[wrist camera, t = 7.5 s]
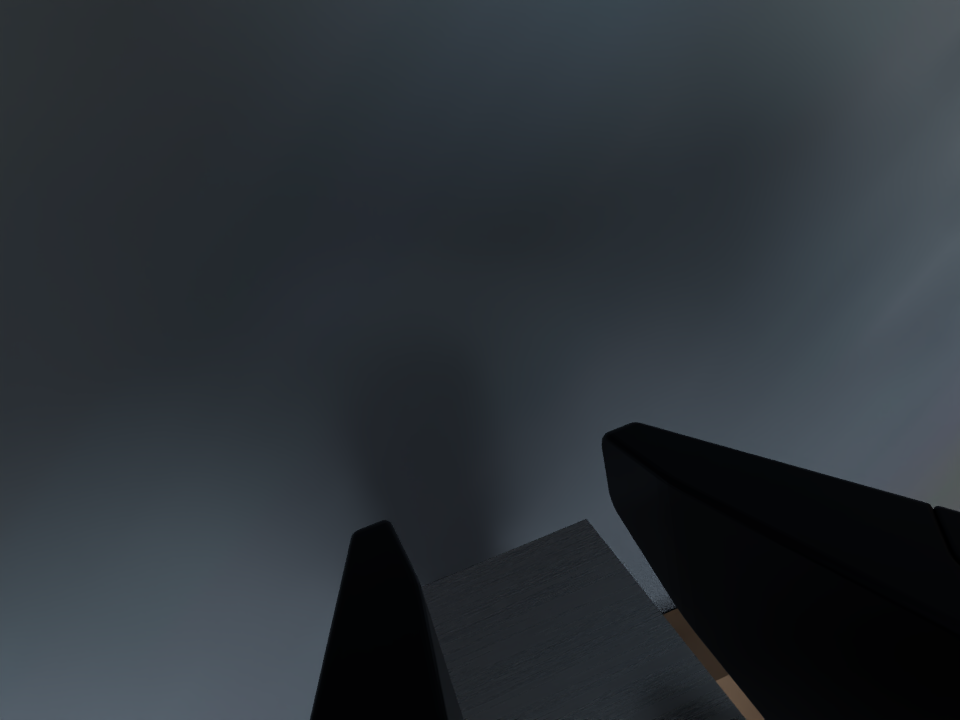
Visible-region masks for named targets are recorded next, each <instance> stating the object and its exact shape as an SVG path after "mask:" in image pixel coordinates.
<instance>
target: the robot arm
mask: <svg viewBox="0 0 960 720" xmlns="http://www.w3.org/2000/svg"><path fill="white" fill-rule="evenodd" d="M602 451H603V457H604V463H605V470H606V476H607V482H608V488H609V493H610V497H611V500H612V503H613V505H614V507H615V509H616V511H617V513H618V515H619V516H620V518H621V520H622V521H623V523H624V524H625V526H626V528H627V529H628V531H629V532H630V534H631V535H632V537H633V539H634V540H635V542H636V543H637V545H638V547H639V548H640V550H641V551H642V553H643V555H644V556H645V558H646V559H647V561H648V563H649V564H650V566H651V567H652V569H653V571H654V572H655V574H656V575H657V577H658V578H659V580H660V582H661V583H662V585H663V586H664V588H665V590H666V591H667V593H668V594H669V596H670V598H671V599H672V601H673V602H674V604H675V605H676V607H677V608H678V610H679V611H680V613H681V614H682V616H683V617H684V619H685V620H686V621H687V623H688V624H689V625H690V627H691V628H692V629H693V631H694V632H695V633H696V634H697V636H698V637H699V638H700V639H701V641H702V642H703V643H704V644H705V646H706V647H707V648H708V649H709V651H710V652H711V653H712V654H713V656H714V657H715V658H716V659H717V661H718V662H719V663H720V664H721V666H722V667H723V668H724V669H725V671H726V672H727V673H728V674H729V676H730V677H731V678H732V679H733V680H734V682H735V683H736V684H737V685H738V687H739V688H740V689H741V690H742V692H743V693H744V694H745V695H746V697H747V698H748V699H749V700H750V702H751V703H752V704H753V705H754V707H755V708H756V709H757V710H758V712H759V713H760V714H761V715H762V717H763V718H764V719H765V720H960V512H958V511H955V510H951V509H948V508H944V507H941V506H936V507H935V508H934V509H933V508H932V506H931V505H930V504H929V503H925V502H922V501H918V500H915V499H911V498H907V497H904V496H900V495H897V494H893V493H890V492H886V491H882V490H879V489H875V488H872V487H868V486H864V485H861V484H857V483H854V482H850V481H847V480H843V479H839V478H836V477H832V476H829V475H825V474H821V473H818V472H814V471H811V470H807V469H804V468H800V467H796V466H793V465H789V464H786V463H782V462H778V461H775V460H771V459H768V458H764V457H761V456H757V455H753V454H750V453H746V452H743V451H739V450H735V449H732V448H728V447H725V446H721V445H717V444H714V443H710V442H707V441H703V440H700V439H696V438H692V437H689V436H685V435H682V434H678V433H674V432H671V431H667V430H664V429H660V428H657V427H653V426H649V425H646V424H642V423H637V422H633V423H629V424H627V425H624V426H622V427H619V428H617V429H614V430H612V431H609V432H607V433H605V435H604V436H603V438H602ZM310 720H464V719H463V716H462V713H461V710H460V706H459V703H458V700H457V697H456V694H455V691H454V688H453V684H452V681H451V678H450V675H449V672H448V669H447V666H446V663H445V659H444V656H443V653H442V650H441V647H440V644H439V641H438V637H437V634H436V631H435V628H434V625H433V622H432V619H431V615H430V612H429V609H428V606H427V603H426V600H425V597H424V593H423V590H422V587H421V585H420V582H419V580H418V577H417V575H416V573H415V571H414V569H413V567H412V565H411V563H410V560H409V558H408V556H407V554H406V552H405V550H404V548H403V546H402V544H401V542H400V540H399V538H398V536H397V534H396V531H395V529H394V527H393V525H392V524H391V522H389V521H387V520H383V521H380V522H377V523H375V524H372V525H370V526H367V527H365V528H362V529H360V530H357V531H356V532H354V533H353V535H352V537H351V541H350V545H349V549H348V554H347V558H346V563H345V567H344V571H343V576H342V580H341V585H340V589H339V594H338V598H337V602H336V607H335V611H334V616H333V620H332V624H331V629H330V633H329V638H328V642H327V646H326V651H325V655H324V660H323V664H322V669H321V673H320V677H319V682H318V686H317V691H316V695H315V699H314V704H313V708H312V713H311V717H310Z"/></svg>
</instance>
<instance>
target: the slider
mask: <svg viewBox="0 0 960 720" xmlns="http://www.w3.org/2000/svg"><path fill="white" fill-rule="evenodd" d="M422 590H423V593H424V597H425V600H426V603H427V606H428V609H429V612H430V615H431V619H432V622H433V625H434V628H435V631H436V634H437V637H438V641H439V644H440V647H441V650H442V653H443V656H444V659H445V663H446V666H447V669H448V672H449V675H450V678H451V681H452V684H453V688H454V691H455V694H456V697H457V700H458V703H459V706H460V710H461V713H462V716H463V719H464V720H746V719H745V717H744V716H743V715H742V714H741V712H740V711H739V710H738V709H737V707H736V706H735V705H734V704H733V702H732V701H731V700H730V699H729V697H728V696H727V695H726V693H725V692H724V691H723V690H722V688H721V687H720V686H719V685H718V683H717V682H716V681H715V680H714V678H713V677H712V676H711V675H710V673H709V672H708V671H707V670H706V668H705V667H704V666H703V665H702V663H701V662H700V661H699V660H698V658H697V657H696V656H695V655H694V653H693V652H692V651H691V650H690V648H689V647H688V646H687V644H686V643H685V642H684V641H683V639H682V638H681V637H680V636H679V634H678V633H677V632H676V631H675V629H674V628H673V627H672V626H671V624H670V623H669V622H668V621H667V619H666V618H665V617H664V616H663V614H662V613H661V612H660V611H659V609H658V608H657V607H656V606H655V604H654V603H653V602H652V601H651V599H650V598H649V597H648V595H647V594H646V593H645V592H644V590H643V589H642V588H641V587H640V585H639V584H638V583H637V582H636V580H635V579H634V578H633V577H632V575H631V574H630V573H629V572H628V570H627V569H626V568H625V567H624V565H623V564H622V563H621V562H620V560H619V559H618V558H617V557H616V555H615V554H614V553H613V551H612V550H611V549H610V548H609V546H608V545H607V544H606V543H605V541H604V540H603V539H602V538H601V536H600V535H599V534H598V533H597V531H596V530H595V529H594V528H593V526H592V525H591V524H590V523H589V521H588V520H587V519H585V520H582V521H580V522H577V523H575V524H573V525H570V526H568V527H565V528H563V529H560V530H558V531H556V532H553V533H551V534H548V535H546V536H544V537H541V538H539V539H536V540H534V541H531V542H529V543H527V544H524V545H522V546H519V547H517V548H515V549H512V550H510V551H507V552H505V553H502V554H500V555H498V556H495V557H493V558H490V559H488V560H486V561H483V562H481V563H478V564H476V565H474V566H471V567H469V568H466V569H464V570H461V571H459V572H457V573H454V574H452V575H449V576H447V577H445V578H442V579H440V580H437V581H435V582H432V583H430V584H428V585H425V586H423V587H422Z"/></svg>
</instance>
